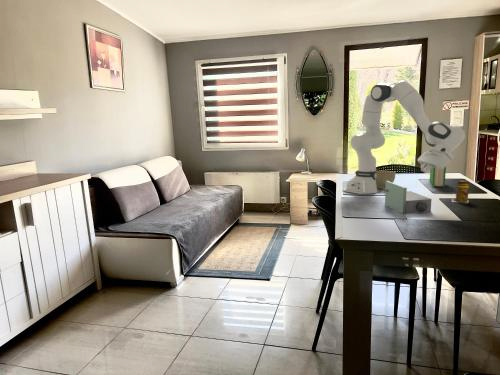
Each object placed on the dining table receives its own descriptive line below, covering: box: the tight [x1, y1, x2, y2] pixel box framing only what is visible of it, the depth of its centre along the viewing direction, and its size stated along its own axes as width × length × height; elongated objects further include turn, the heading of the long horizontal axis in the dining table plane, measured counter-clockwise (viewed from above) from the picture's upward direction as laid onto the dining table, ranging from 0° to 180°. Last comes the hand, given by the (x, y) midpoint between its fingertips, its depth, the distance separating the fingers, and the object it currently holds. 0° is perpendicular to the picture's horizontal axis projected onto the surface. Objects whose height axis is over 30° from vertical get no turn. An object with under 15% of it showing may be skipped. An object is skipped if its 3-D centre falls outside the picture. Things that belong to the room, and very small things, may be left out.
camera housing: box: [404, 190, 433, 215], centre depth 202 cm, size 22×14×7 cm, turn 8°
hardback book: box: [429, 149, 447, 188], centre depth 257 cm, size 18×7×24 cm, turn 161°
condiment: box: [451, 179, 470, 204], centre depth 213 cm, size 7×8×12 cm
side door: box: [384, 181, 408, 215], centre depth 201 cm, size 20×2×14 cm, turn 8°
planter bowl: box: [376, 170, 397, 190], centre depth 255 cm, size 16×16×11 cm
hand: (422, 171), depth 201 cm, fingers closed
